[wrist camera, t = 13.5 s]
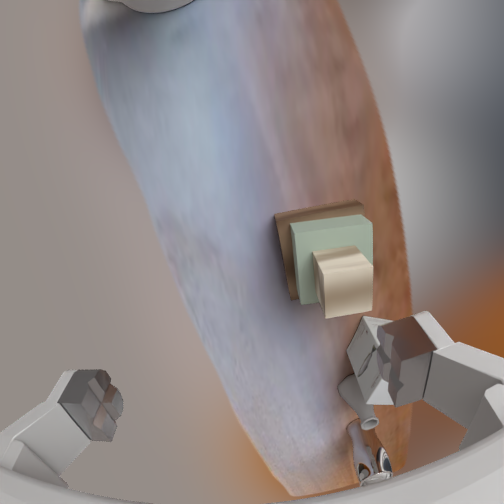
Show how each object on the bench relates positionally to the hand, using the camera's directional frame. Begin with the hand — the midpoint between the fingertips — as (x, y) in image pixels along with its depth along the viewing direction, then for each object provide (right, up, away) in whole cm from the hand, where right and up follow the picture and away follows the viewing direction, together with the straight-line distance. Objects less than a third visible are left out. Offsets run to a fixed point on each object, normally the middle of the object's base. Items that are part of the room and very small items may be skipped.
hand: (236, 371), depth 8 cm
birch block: (+10, +1, +27) cm, 29 cm away
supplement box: (+20, -10, +40) cm, 46 cm away
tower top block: (+10, +3, +31) cm, 32 cm away
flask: (+20, -21, +44) cm, 53 cm away
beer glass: (+24, -34, +49) cm, 64 cm away
